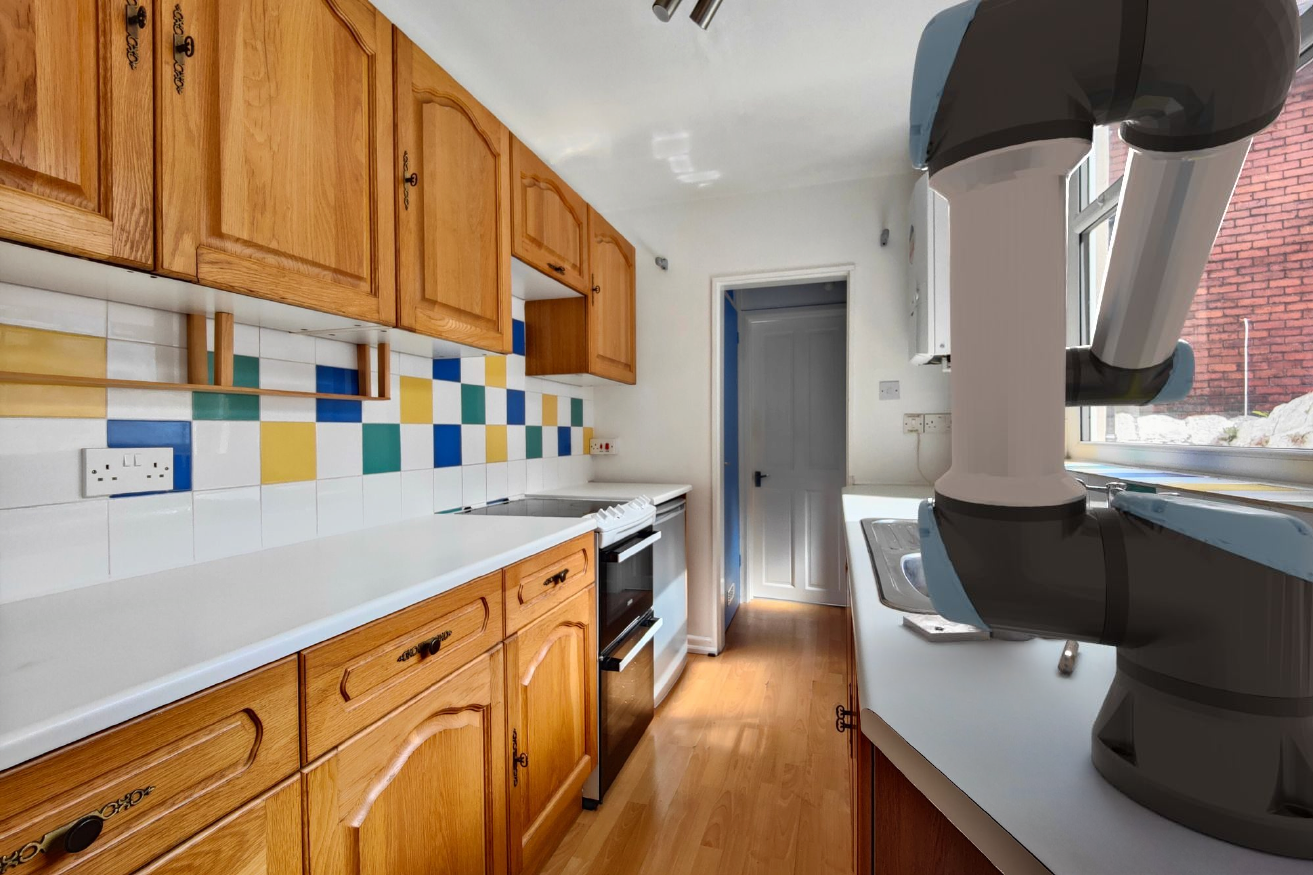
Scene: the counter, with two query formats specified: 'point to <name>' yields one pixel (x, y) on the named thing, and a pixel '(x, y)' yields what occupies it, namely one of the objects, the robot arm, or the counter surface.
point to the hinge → (955, 630)
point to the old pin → (1068, 657)
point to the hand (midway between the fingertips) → (999, 609)
